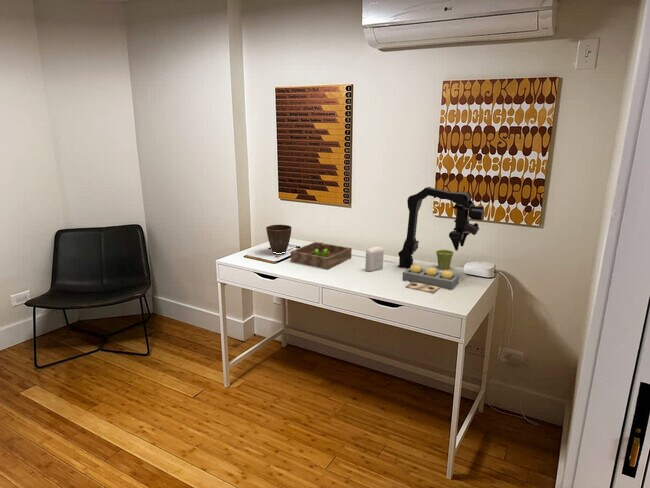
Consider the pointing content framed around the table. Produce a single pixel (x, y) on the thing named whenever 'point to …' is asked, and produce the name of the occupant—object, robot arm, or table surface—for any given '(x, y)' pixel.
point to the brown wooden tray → (319, 261)
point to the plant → (321, 251)
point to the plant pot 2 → (444, 258)
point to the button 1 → (415, 269)
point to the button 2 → (431, 271)
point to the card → (422, 287)
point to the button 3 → (447, 274)
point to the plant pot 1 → (279, 238)
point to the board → (431, 279)
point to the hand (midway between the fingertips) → (459, 248)
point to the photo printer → (374, 259)
